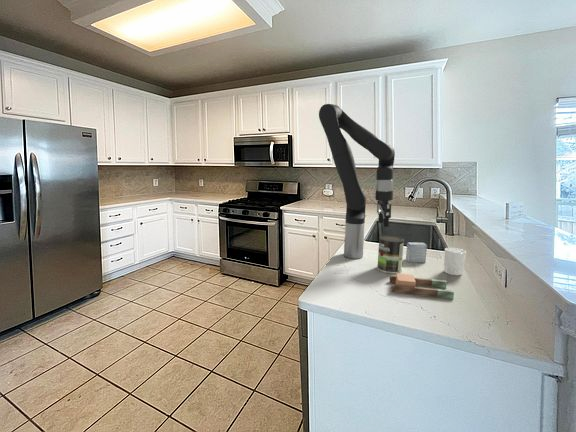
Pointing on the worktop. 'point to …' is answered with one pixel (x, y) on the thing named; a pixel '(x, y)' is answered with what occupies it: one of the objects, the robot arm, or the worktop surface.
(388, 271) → the coffee can
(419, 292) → the walnut chute
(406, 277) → the terracotta block
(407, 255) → the medicine box
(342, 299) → the worktop surface
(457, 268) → the white cup
